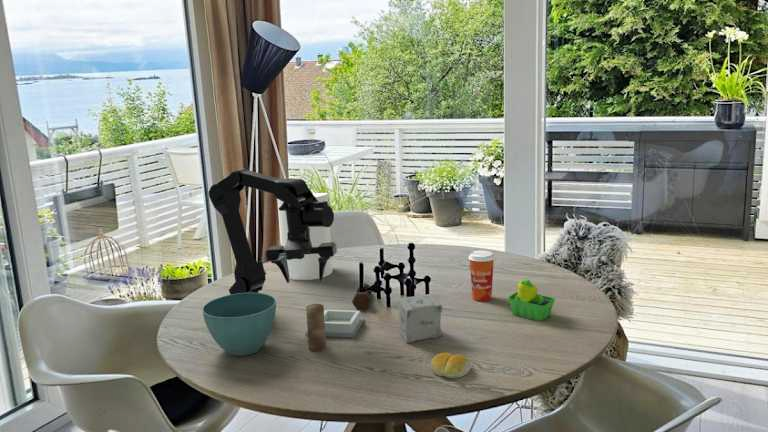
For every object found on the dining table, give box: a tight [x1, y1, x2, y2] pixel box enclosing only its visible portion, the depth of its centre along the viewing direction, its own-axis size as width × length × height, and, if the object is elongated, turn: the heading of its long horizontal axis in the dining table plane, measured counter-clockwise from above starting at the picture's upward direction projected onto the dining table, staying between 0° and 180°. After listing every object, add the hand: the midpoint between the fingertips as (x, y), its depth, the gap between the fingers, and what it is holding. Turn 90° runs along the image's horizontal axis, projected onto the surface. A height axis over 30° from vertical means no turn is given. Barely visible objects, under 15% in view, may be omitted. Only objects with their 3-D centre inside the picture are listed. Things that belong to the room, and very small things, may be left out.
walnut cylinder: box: [305, 303, 327, 352], centre depth 173 cm, size 4×4×11 cm
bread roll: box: [430, 352, 472, 379], centre depth 158 cm, size 8×9×4 cm
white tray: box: [305, 309, 365, 338], centre depth 186 cm, size 13×12×4 cm
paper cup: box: [468, 250, 496, 303], centre depth 204 cm, size 8×8×14 cm
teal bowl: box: [201, 292, 277, 357], centre depth 174 cm, size 18×18×12 cm
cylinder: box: [276, 192, 333, 281], centre depth 236 cm, size 17×17×28 cm
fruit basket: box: [507, 278, 556, 322], centre depth 189 cm, size 11×9×11 cm
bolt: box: [351, 282, 373, 311], centre depth 207 cm, size 6×5×15 cm
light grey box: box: [397, 293, 443, 344], centre depth 177 cm, size 10×8×10 cm
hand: (304, 281), depth 187 cm, fingers open, 9 cm apart
